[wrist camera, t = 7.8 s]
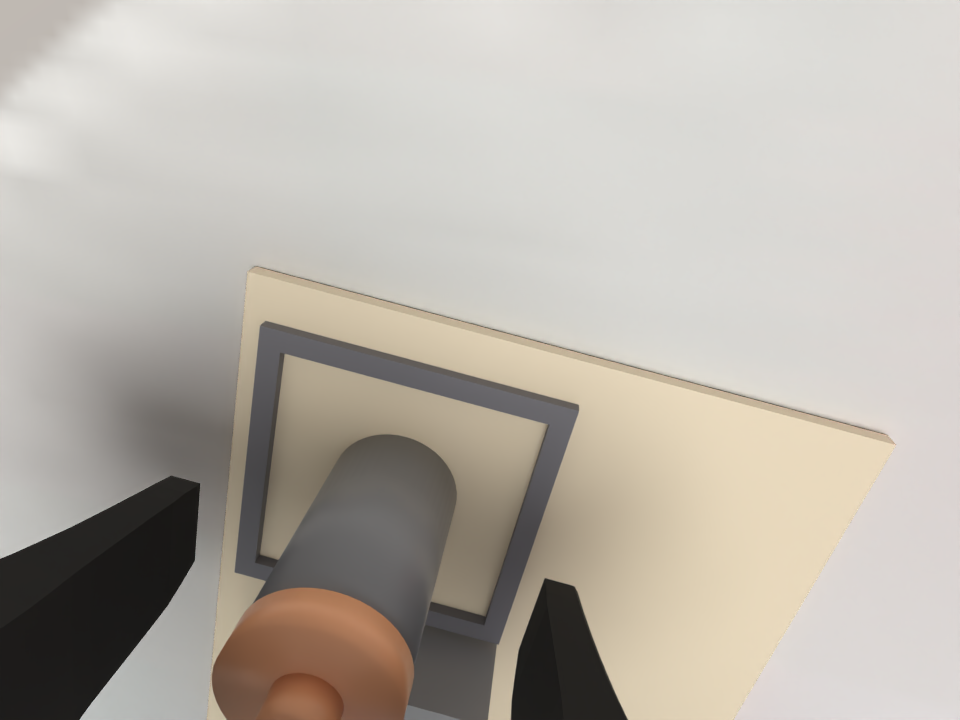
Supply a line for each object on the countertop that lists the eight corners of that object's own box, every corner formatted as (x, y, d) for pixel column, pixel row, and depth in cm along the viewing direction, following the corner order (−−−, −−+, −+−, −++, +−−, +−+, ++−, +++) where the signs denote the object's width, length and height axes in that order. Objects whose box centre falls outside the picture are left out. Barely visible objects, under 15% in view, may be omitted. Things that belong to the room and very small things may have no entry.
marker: (443, 556, 16) (373, 832, 10) (322, 523, 16) (184, 778, 10) (472, 452, 15) (410, 698, 9) (340, 417, 15) (193, 640, 9)
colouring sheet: (655, 833, 20) (658, 858, 19) (212, 711, 20) (201, 731, 20) (888, 435, 14) (903, 452, 13) (255, 266, 14) (241, 275, 14)
